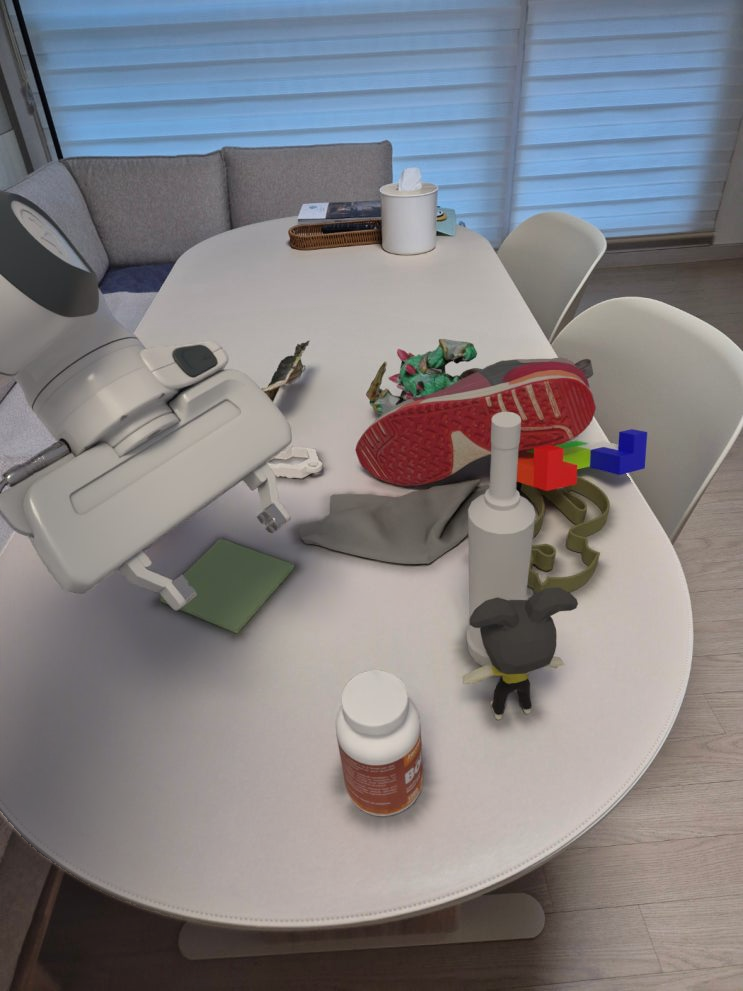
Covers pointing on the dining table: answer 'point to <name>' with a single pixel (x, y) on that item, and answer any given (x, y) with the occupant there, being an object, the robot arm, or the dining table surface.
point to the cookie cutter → (576, 535)
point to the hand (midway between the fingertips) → (236, 562)
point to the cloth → (396, 523)
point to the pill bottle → (379, 743)
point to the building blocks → (580, 460)
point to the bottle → (499, 530)
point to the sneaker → (478, 419)
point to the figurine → (420, 374)
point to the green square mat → (232, 584)
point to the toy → (518, 642)
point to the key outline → (300, 469)
